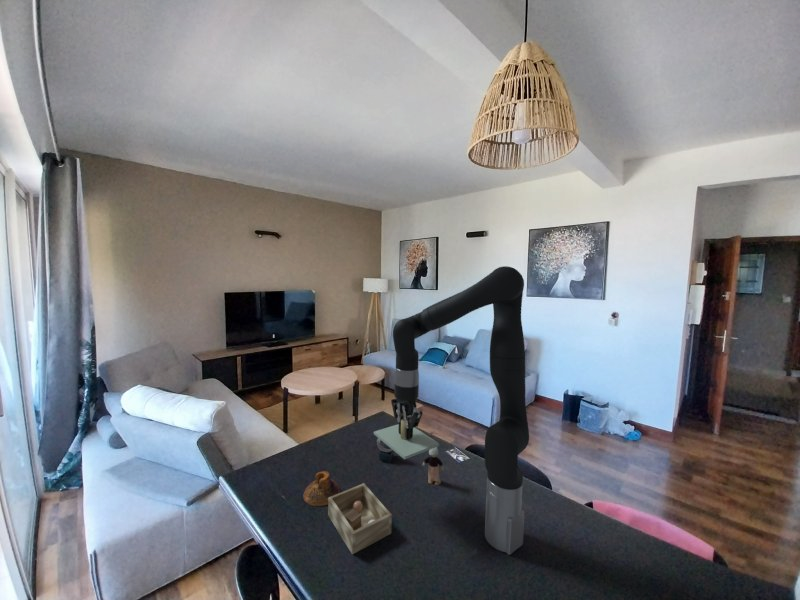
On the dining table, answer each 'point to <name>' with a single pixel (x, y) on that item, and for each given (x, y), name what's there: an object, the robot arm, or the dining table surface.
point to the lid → (405, 440)
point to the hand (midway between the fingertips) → (405, 435)
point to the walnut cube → (353, 519)
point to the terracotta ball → (357, 506)
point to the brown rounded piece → (321, 490)
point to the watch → (385, 452)
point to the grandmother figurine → (433, 466)
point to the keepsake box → (370, 511)
